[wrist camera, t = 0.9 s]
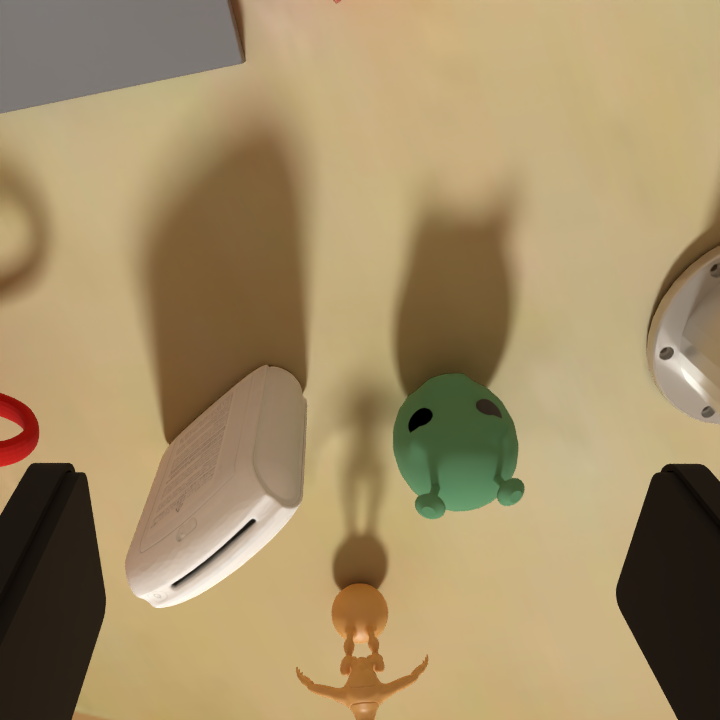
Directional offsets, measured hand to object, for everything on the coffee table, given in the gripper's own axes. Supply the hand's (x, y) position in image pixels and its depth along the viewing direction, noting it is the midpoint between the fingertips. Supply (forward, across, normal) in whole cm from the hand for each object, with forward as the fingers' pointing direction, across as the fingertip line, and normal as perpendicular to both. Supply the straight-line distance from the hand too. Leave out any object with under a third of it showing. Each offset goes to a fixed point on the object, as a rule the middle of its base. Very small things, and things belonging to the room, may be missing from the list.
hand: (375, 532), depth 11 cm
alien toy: (+27, -8, +14) cm, 32 cm away
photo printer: (+28, +5, +16) cm, 32 cm away
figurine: (+27, -4, +29) cm, 40 cm away
